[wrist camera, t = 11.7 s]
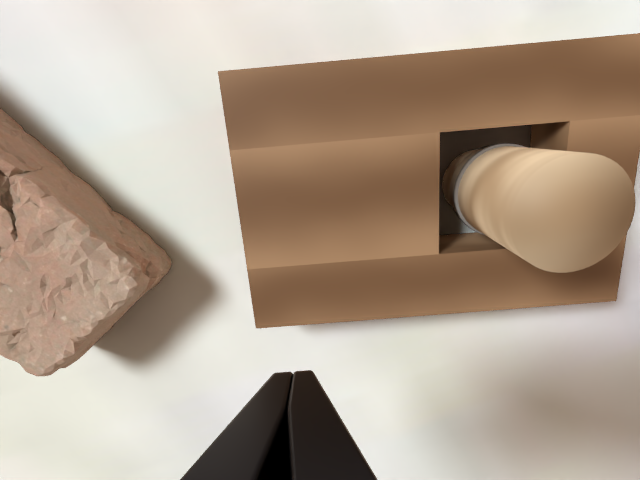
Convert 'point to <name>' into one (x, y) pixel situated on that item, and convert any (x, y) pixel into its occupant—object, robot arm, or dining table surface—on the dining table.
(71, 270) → the brick
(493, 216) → the peg
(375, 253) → the seat board
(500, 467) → the dining table surface
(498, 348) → the dining table surface
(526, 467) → the dining table surface
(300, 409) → the robot arm
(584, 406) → the dining table surface
